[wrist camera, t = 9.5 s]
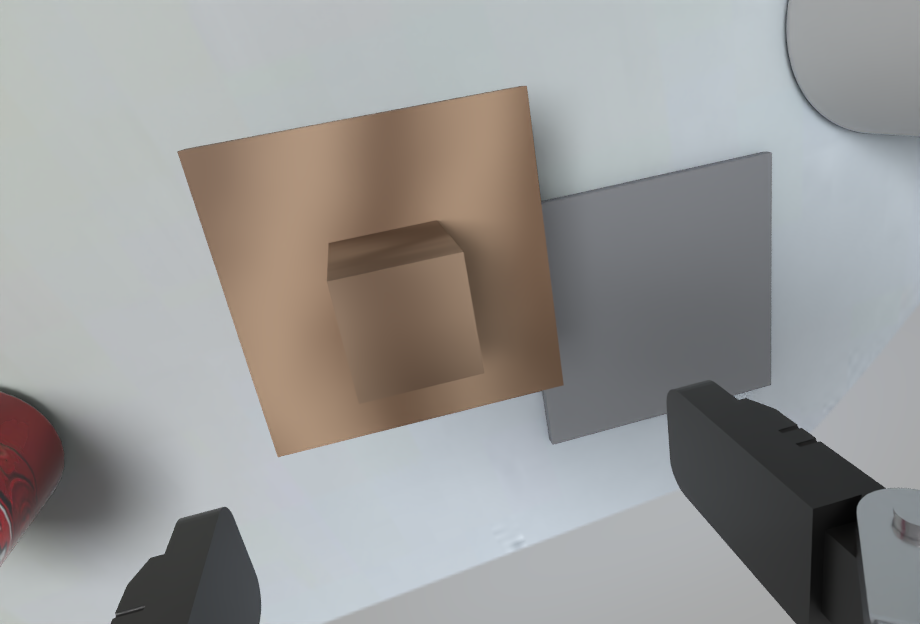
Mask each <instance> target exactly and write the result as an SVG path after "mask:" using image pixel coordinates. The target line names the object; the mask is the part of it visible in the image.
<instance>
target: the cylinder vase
mask: <svg viewBox="0 0 920 624" xmlns="http://www.w3.org/2000/svg"><path fill="white" fill-rule="evenodd" d="M786 33H787V46H788V53H789V58H790V62H791V66H792V70H793V73H794V75H795V78H796V80H797V83H798V85H799V87H800V89H801V90H802V92H803V94H804V95H805V97H806V98H807V100H808V101H809V102H810V103H811V105H812V106H813V107H814V108H815V109H816V110H817V111H818V112H819V113H820V114H821V115H823V116H824V117H825V118H827V119H828V120H830V121H831V122H833V123H835V124H836V125H838V126H841V127H843V128H846V129H848V130H852V131H856V132H861V133H869V134H884V135H900V136H915V137H920V0H789V2H788V9H787V23H786Z"/></svg>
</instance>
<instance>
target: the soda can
mask: <svg viewBox="0 0 920 624" xmlns="http://www.w3.org/2000/svg"><path fill="white" fill-rule="evenodd" d="M63 469H64V450H63V447H62V443H61V439H60V437H59V436H58V434H57V432H56V430H55V428H54V427H53V425H52V424H51V423H50V422H49V421H48V419H47V418H46V417H45V416H44V415H43V414H42V413H40V412H39V411H38V410H37V409H35V408H34V407H33V406H31V405H30V404H28V403H26V402H24V401H23V400H21V399H19V398H17V397H14V396H12V395H9V394H7V393H4V392H0V567H1V565H2V564H3V562H4V561H5V560H6V558H7V557H8V555H9V554H10V552H11V551H12V550H13V548H14V547H15V545H16V544H17V543H18V541H19V540H20V538H21V537H22V536H23V534H24V533H25V531H26V530H27V529H28V527H29V526H30V524H31V523H32V522H33V520H34V519H35V517H36V516H37V515H38V513H39V512H40V510H41V509H42V507H43V506H44V505H45V503H46V502H47V500H48V499H49V498H50V496H51V495H52V493H53V492H54V491H55V489H56V487H57V485H58V483H59V481H60V479H61V477H62V473H63Z"/></svg>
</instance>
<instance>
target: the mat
mask: <svg viewBox="0 0 920 624" xmlns="http://www.w3.org/2000/svg"><path fill="white" fill-rule="evenodd" d="M541 205H542V213H543V222H544V230H545V238H546V246H547V254H548V262H549V270H550V278H551V286H552V294H553V302H554V311H555V319H556V327H557V335H558V343H559V351H560V359H561V367H562V375H563V383H564V385H563V386H559V387H555V388H551V389H547V390H543V391H542V393H543V400H544V407H545V413H546V420H547V427H548V433H549V439H550V441H551V443H552V444H557V443H561V442H564V441H568V440H572V439H575V438H579V437H583V436H586V435H590V434H594V433H597V432H601V431H605V430H608V429H612V428H616V427H619V426H623V425H627V424H630V423H634V422H638V421H641V420H645V419H648V418H652V417H656V416H659V415H663V414H667V403H666V400H667V394H668V392H669V391H670V390H672V389H675V388H679V387H683V386H687V385H691V384H694V383H698V382H702V381H706V380H711V381H714V382H715V383H717V384H718V385H719V386H721V387H722V388H723V389H724V390H726V391H727V392H728V393H730V394H731V395H732V396H733V395H736V394H740V393H744V392H747V391H751V390H755V389H758V388H762V387H766V386H769V385H771V205H772V153H771V152H761V153H756V154H752V155H747V156H743V157H738V158H734V159H729V160H725V161H720V162H716V163H712V164H707V165H703V166H698V167H694V168H689V169H685V170H680V171H676V172H671V173H667V174H662V175H658V176H653V177H649V178H644V179H640V180H635V181H631V182H626V183H622V184H617V185H613V186H609V187H604V188H600V189H595V190H591V191H586V192H582V193H577V194H573V195H568V196H564V197H559V198H555V199H550V200H546V201H541Z"/></svg>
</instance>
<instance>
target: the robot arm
mask: <svg viewBox="0 0 920 624" xmlns="http://www.w3.org/2000/svg"><path fill="white" fill-rule="evenodd" d="M666 403H667V419H668V433H669V448H670V461H671V467H672V471H673V474H674V477H675V479H676V481H677V483H678V485H679V487H680V489H681V491H682V492H683V493H684V495H685V496H686V497H687V498H688V499H689V501H690V502H691V503H692V504H693V505H694V506H695V508H696V509H697V510H698V511H699V512H700V513H701V514H702V516H703V517H704V518H705V519H706V520H707V521H708V523H709V524H710V525H711V526H712V527H713V528H714V529H715V530H716V532H717V533H718V534H719V535H720V536H721V538H722V539H723V540H724V541H725V542H726V543H727V544H728V546H729V547H730V548H731V549H732V550H733V551H734V552H735V554H736V555H737V556H738V557H739V558H740V559H741V561H742V562H743V563H744V564H745V565H746V566H747V568H749V570H750V571H751V572H752V573H753V574H754V576H755V577H756V578H757V579H758V580H759V581H760V583H761V584H762V585H763V586H764V587H765V588H766V589H767V591H768V592H769V593H770V594H771V595H772V596H773V597H774V599H775V600H776V601H777V602H778V603H779V604H780V606H781V607H782V608H783V609H784V610H785V611H786V613H787V614H788V615H789V616H790V617H791V618H792V619H793V621H794V622H795V623H796V624H920V490H916V489H909V488H908V489H907V488H888V489H886V488H884V487H883V486H882V485H880V484H879V483H878V482H876V481H875V480H873V479H872V478H871V477H869V476H868V475H866V474H865V473H864V472H862V471H861V470H859V469H858V468H857V467H855V466H854V465H853V464H851V463H850V462H848V461H847V460H846V459H844V458H843V457H841V456H840V455H839V454H837V453H836V452H834V451H833V450H832V449H830V448H829V447H827V446H826V445H824V444H823V443H822V442H817V441H816V438H815V437H813V436H812V435H811V434H809V433H808V432H807V431H805V430H804V429H802V428H800V429H799V428H798V426H797V424H795V423H794V422H793V421H791V420H790V419H788V418H787V417H786V416H784V415H783V414H781V413H780V412H779V411H777V410H776V409H774V408H771V407H768V406H766V405H763V404H760V403H758V402H755V401H752V400H749V399H747V398H745V399H741V400H738V399H736V398H735V397H734V396H732V395H731V394H730V393H728V392H727V391H726V390H724V389H723V388H722V387H721V386H719V385H718V384H717V383H715V382H714V381H711V380H706V381H702V382H698V383H694V384H691V385H687V386H683V387H679V388H675V389H672V390H670V391H669V392H668V394H667V400H666ZM115 614H116V618H114V619H112V622H111V624H259V622H260V615H261V596H260V588H259V583H258V579H257V576H256V573H255V570H254V568H253V565H252V563H251V560H250V558H249V555H248V553H247V550H246V547H245V545H244V542H243V540H242V537H241V535H240V532H239V530H238V527H237V525H236V522H235V519H234V517H233V515H232V513H231V511H230V510H229V509H228V508H227V507H222V508H218V509H214V510H211V511H207V512H203V513H199V514H195V515H192V516H188V517H184V518H181V519H179V520H178V521H177V523H176V525H175V528H174V531H173V533H172V536H171V539H170V541H169V544H168V546H167V549H166V552H165V554H163V555H160V556H156V557H152V558H150V559H149V560H148V562H147V563H146V564H145V565H144V566H143V567H142V569H141V570H140V571H139V572H138V573H137V574H136V576H135V577H134V578H133V579H132V580H131V581H130V583H129V584H128V585H127V587H126V589H125V592H124V594H123V596H122V599H121V601H120V603H119V605H118V608H117V610H116V612H115Z"/></svg>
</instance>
